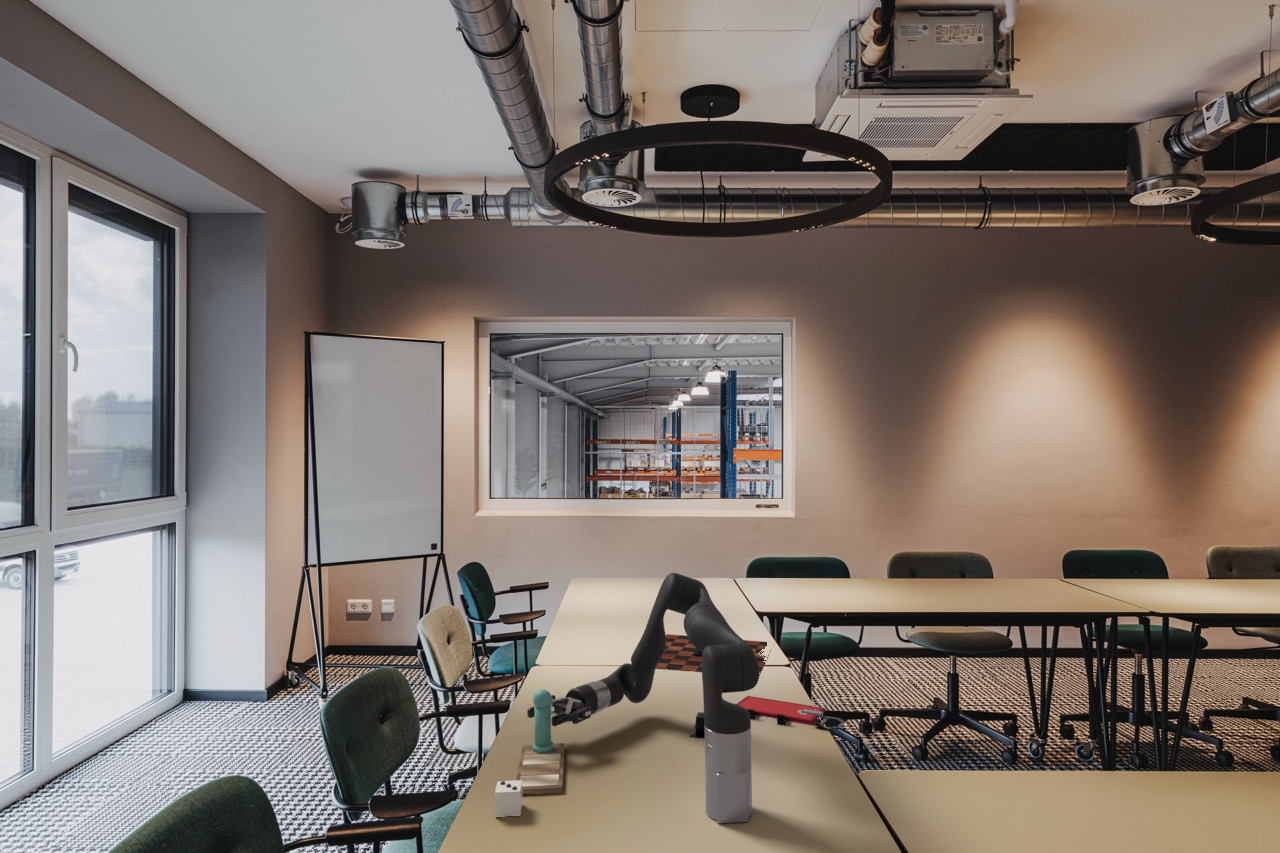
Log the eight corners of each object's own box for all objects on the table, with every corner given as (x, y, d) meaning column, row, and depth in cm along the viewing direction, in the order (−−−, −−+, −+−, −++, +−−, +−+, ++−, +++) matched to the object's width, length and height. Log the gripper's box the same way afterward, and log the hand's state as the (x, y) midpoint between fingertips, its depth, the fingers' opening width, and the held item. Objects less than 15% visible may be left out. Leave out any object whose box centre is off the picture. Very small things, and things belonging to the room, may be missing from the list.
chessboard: (635, 668, 252) (635, 634, 252) (667, 636, 290) (666, 607, 291) (759, 679, 241) (758, 644, 241) (774, 645, 279) (774, 614, 279)
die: (520, 816, 155) (520, 788, 155) (495, 817, 155) (494, 790, 155) (522, 804, 160) (522, 777, 160) (497, 805, 160) (497, 778, 160)
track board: (562, 793, 165) (562, 786, 165) (514, 795, 164) (514, 788, 164) (564, 748, 188) (564, 742, 188) (523, 749, 187) (522, 744, 187)
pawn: (552, 752, 182) (552, 692, 182) (532, 753, 182) (531, 693, 182) (553, 744, 187) (552, 686, 187) (533, 745, 187) (532, 687, 187)
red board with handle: (836, 736, 194) (852, 717, 206) (835, 724, 194) (852, 707, 206) (725, 716, 209) (747, 700, 222) (725, 706, 209) (747, 690, 222)
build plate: (713, 744, 191) (712, 725, 191) (683, 741, 193) (683, 723, 193) (720, 725, 203) (719, 707, 203) (692, 723, 205) (692, 705, 205)
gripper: (568, 678, 201) (520, 695, 188) (609, 690, 191) (560, 708, 179) (569, 708, 201) (520, 726, 188) (609, 720, 191) (561, 741, 179)
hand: (540, 717), depth 184 cm, fingers open, 8 cm apart
